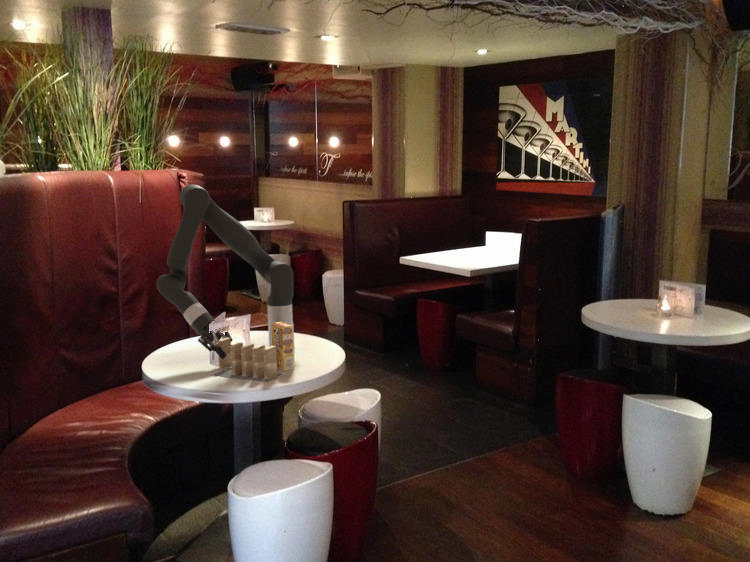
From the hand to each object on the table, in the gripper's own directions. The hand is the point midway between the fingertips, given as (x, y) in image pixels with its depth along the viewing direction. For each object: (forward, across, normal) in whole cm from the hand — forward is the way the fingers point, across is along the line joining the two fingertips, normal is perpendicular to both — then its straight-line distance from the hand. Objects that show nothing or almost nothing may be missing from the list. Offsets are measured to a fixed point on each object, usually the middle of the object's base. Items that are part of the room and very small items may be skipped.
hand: (229, 355), depth 247 cm
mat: (+11, -6, -5) cm, 13 cm away
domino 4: (+14, -6, -8) cm, 18 cm away
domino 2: (+8, -6, -2) cm, 10 cm away
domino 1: (+2, 0, +4) cm, 5 cm away
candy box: (+15, +7, -9) cm, 19 cm away
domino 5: (+17, -6, -12) cm, 22 cm away
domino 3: (+11, -6, -5) cm, 14 cm away
